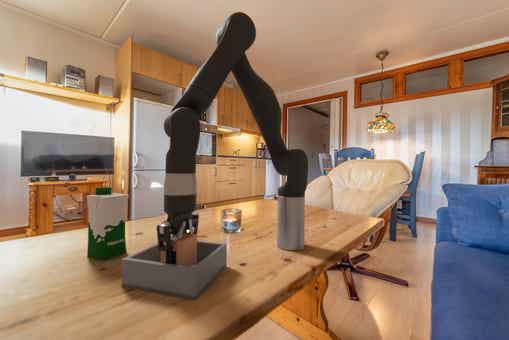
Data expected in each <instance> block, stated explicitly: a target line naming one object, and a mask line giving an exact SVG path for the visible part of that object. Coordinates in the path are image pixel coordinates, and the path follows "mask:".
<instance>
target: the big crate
mask: <svg viewBox="0 0 509 340" xmlns="http://www.w3.org/2000/svg"><path fill="white" fill-rule="evenodd" d="M227 247H228V244H227V243H221V242H214V241H213V242H212V241H203V240H197V262H196V263H195V264H193V265H192V266H191V267H188V266H181V265H174V264H168V263H161V251H160V250H159V248H158V242H156V243H155V244H152V245H150V246H148V247H146V248H143V249H141V250H139V251H137V252H134V253H132V254H130V255H128V256H126V257H124V258H122V259H121V285H120V286H121V287H122V288H127V289H130V290H131V289H132V290H138V291H141V292H146V293H147V292H148V293H153V294H158V295H164V296H168V297H174V298H179V299H184V300H188V301H196V300H197V299H198V298H199V297H200V296H201V295H202V294H203V293H204V292H205V291H206V289H207V288H208V287H209V286H210V285H211V284H212V283H213V282H214V281H215V279H216V278H217V277H218V276H219V275H220V274H221V273H222V272H223V270H225V268H226V267H227V263H228V262H227V259H228V258H227V256H228V255H227V254H228V253H227V252H228V248H227Z"/></svg>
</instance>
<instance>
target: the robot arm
mask: <svg viewBox="0 0 509 340" xmlns="http://www.w3.org/2000/svg"><path fill="white" fill-rule="evenodd" d="M217 29H218V30H217V32H216V34H215V41H216V47H215V49H214V50H213V52H211V54H210V56H208V58H207V59H206V60H205V61H204V63H203V64H202V66H200V68H199V69H198V71H196V73H195V75H193V77H192V79H191V81H190V82H189V84H188V85H187V87H186V88H185V91H184V92H183V94H182V96H181V97H180V98H179V100H178V101H177V102H176V103H175V104H174V106H173V107H172V109H171V110H170V112H169V113H167V115H166V117H165V119H164V122H163V130H164V133H165V135H166V136H167V137H168V138H169V147H168V150H167V152H166V155H165V169H164V170H165V176H164V182H163V183H164V184H163V212H164V213H166V214H167V218H166V222H164V223H163V224H160V223H159V224H157V225H156V234H157V243H158V248H159V250H160V251H165V252H166V263H168V264H174V265H176V248H177V241H180V240H181V237H182V234H187V235H191V234H197V235H198V230H199V219H200V215H199V213H194V212H196V211H197V198H198V197H197V195H198V194H197V193H198V192H197V190H198V189H197V185H198V183H197V181H198V180H197V174H196V173H197V158H196V156H197V151H198V149H199V143H200V142H199V141H200V137H201V128H202V127H201V121H200V118H201V117H202V115H203V114H204V113H205V112H206V111H208V110H209V108H210V107H211V105H212V104H213V102H214V100H215V99H216V97H217V95H218V94H219V92H220V91H221V88H222V86H223V85H224V83H225V82H226V80H227V78H228V76H229V75H230V74H231V73H232V75H233V77H234V78H235V81H236V84H238V86H239V89H240V91H241V93H242V95H243V97H244V100H245V101H246V103H247V106H248V108H249V110H250V113H251V115H252V117H253V119H254V121H255V123H256V125H257V128H258V129H259V132H260V134H261V137H262V139H263V141H264V143H265V146H266V149H267V151H268V155H269V157H270V160H271V161H270V162H272V166H273V168H274V170H275V171H276V173H278V175H280V176H283V177H284V176H285V177H286V181H285V183H284V184H283V185H281V186H279V187H278V188H277V212H276V213H277V214H276V215H277V218H276V219H277V222H276V223H277V225H276V226H277V227H276V231H277V232H276V233H277V235H276V245H277V247H278V248H280V249H283V250H285V251H300V250H301V251H304V250H305V240H306V239H305V233H306V231H305V230H306V228H305V227H306V218H305V216H306V215H305V213H306V212H305V207H306V206H305V204H306V203H305V200H306V190H307V187H308V178H309V177H308V176H309V158H308V155H307V153H306V152H305V151H304V150H303V149H301V148H292V149H288V148H287V146H286V144H285V142H284V139H283V135H282V121H283V119H282V118H283V116H282V115H283V113H282V108H281V105H280V103H279V99H278V98H277V96H276V93H275V91H274V89H273V88H272V87H271V85H270V84H269V83H267V82H266V81H265V80H264V79H263V78H262V77H261V76H259V74H258V73H256V71H255V70H254V69H253V67H252V66H251V64H250V61H249V59H248V57H247V54H246V52H247V51H248V50H249V49H250V48H251V47H252V46H253V44H254V42H255V41H256V37H257V28H256V25H255V23H254V21H253V19H252V18H251V17H250V16H249V15H248V14H246V13H245V12H242V11H237V12H234V13H231V14H230V15H229V16H228V17H227V18H226V19H225V21H224V22H223V23H222V24H221V25H220V26H219V28H217ZM171 234H172V235H177V236H176V237H172V236H171ZM171 240H173V245H172V246H171ZM164 241H165V242H166V243H165V245H164Z"/></svg>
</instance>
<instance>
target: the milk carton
mask: <svg viewBox="0 0 509 340" xmlns="http://www.w3.org/2000/svg"><path fill="white" fill-rule="evenodd" d="M94 190H95V193H94V194H88V195H86V201H87V209H88V218H87V219H88V223H87V224H88V226H87V227H88V228H87V230H88V231H87V232H88V233H87V258H90V259H95V260H100V261H103V262H104V261H107V260H110V259H112V258H116V257H118V256H121V255H122V254H126V253H127V242H126V241H127V240H126V213H127V212H126V208H127V205H128V200H129V196H130V195H129V194H126V193H116V192H112V191H113V190H112V186H111V187H109V186H108V187H107V186H103V187H101V186H99V187H95V189H94Z"/></svg>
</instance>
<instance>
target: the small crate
mask: <svg viewBox="0 0 509 340" xmlns="http://www.w3.org/2000/svg"><path fill="white" fill-rule="evenodd" d="M171 236H172V237H176V236H177V235H172V234H171ZM197 241H198V233H197V234H191V235H187V234H182V237H181V240H180V241H177V248H176V265H181V266H188V267H191V266H192V265H193V264H195V263H196V262H197ZM165 243H166V242H165V241H164V245H165ZM172 245H173V240H171V246H172ZM161 263H166V252H165V251H161Z"/></svg>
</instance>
